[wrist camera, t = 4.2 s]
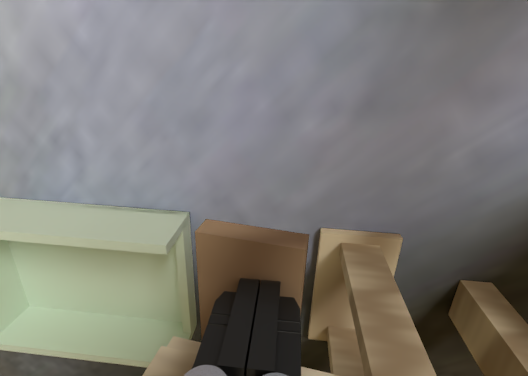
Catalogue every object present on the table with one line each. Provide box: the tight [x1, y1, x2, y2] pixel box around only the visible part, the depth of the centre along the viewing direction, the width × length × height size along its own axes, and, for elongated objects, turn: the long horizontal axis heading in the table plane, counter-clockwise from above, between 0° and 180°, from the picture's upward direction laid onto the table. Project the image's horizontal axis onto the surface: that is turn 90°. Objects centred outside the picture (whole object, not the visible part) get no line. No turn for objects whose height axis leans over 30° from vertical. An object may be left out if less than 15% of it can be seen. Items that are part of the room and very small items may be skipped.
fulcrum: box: [308, 228, 528, 376], centre depth 17 cm, size 12×9×10 cm
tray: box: [0, 197, 197, 367], centre depth 20 cm, size 10×14×6 cm
